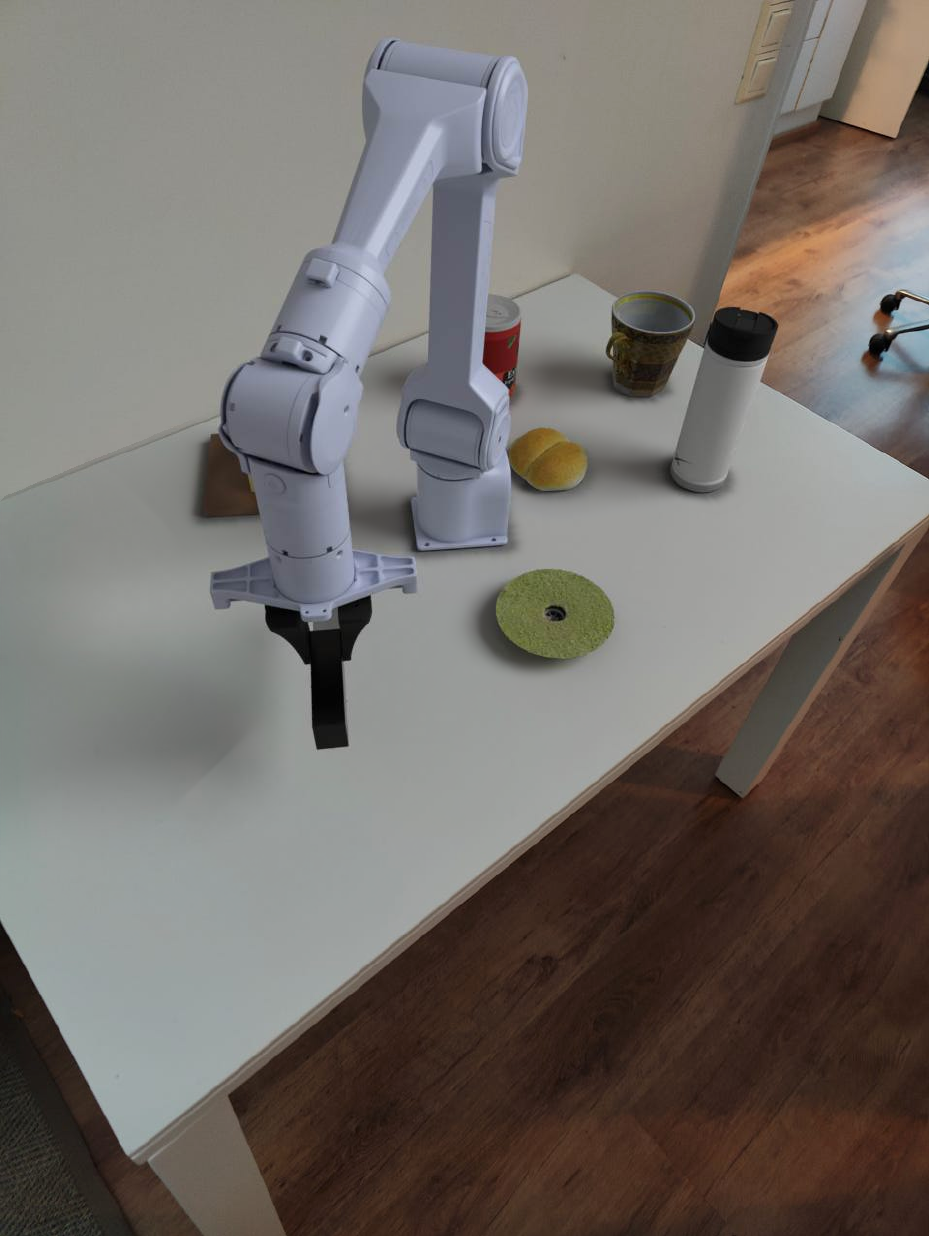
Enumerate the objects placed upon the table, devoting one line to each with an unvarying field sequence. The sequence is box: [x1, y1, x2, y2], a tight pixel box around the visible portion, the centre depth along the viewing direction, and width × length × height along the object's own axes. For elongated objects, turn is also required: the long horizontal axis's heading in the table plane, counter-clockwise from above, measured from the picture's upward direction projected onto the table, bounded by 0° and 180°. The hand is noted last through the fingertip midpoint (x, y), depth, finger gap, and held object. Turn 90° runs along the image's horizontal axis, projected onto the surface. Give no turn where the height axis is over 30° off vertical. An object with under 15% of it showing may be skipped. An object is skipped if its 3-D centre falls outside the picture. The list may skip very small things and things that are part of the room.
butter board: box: [202, 433, 260, 518], centre depth 92 cm, size 14×13×1 cm
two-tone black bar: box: [309, 607, 350, 751], centre depth 66 cm, size 19×2×3 cm, turn 8°
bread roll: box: [508, 427, 589, 492], centre depth 93 cm, size 8×9×4 cm
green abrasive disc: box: [495, 568, 616, 659], centre depth 78 cm, size 11×11×2 cm
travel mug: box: [669, 306, 779, 493], centre depth 87 cm, size 6×7×20 cm
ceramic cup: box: [605, 290, 696, 398], centre depth 102 cm, size 13×10×10 cm
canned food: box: [482, 293, 522, 400], centre depth 100 cm, size 8×8×11 cm
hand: (327, 652), depth 65 cm, fingers closed on two-tone black bar, 2 cm apart
